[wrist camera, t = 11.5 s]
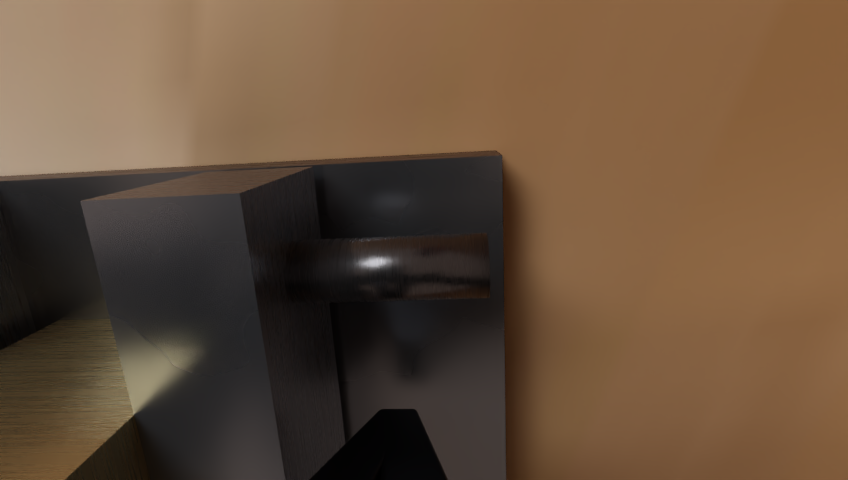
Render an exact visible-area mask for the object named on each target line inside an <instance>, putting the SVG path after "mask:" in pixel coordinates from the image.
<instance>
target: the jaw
mask: <svg viewBox="0 0 848 480" xmlns="http://www.w3.org/2000/svg"><path fill="white" fill-rule="evenodd" d="M80 202H81V206H82V210H83V214H84V218H85V222H86V226H87V230H88V234H89V238H90V242H91V246H92V250H93V254H94V258H95V262H96V266H97V270H98V274H99V278H100V282H101V286H102V290H103V294H104V298H105V302H106V306H107V310H108V314H109V318H110V322H111V326H112V330H113V334H114V338H115V342H116V346H117V350H118V354H119V358H120V362H121V366H122V370H123V374H124V378H125V382H126V386H127V390H128V394H129V398H130V402H131V406H132V409H133V413H134V417H135V421H136V425H137V429H138V433H139V437H140V441H141V445H142V449H143V453H144V457H145V461H146V465H147V469H148V473H149V477H150V480H309V479H310V478H311V477H312V476H313V475H314V474H315V473H316V472H317V471H318V470H319V469H320V468H321V467H322V466H323V465H324V464H325V463H326V462H327V461H328V460H329V459H330V458H331V457H332V456H333V455H334V454H335V453H336V452H337V451H338V450H339V449H340V448H341V447H342V446H344V445H345V444H346V443H345V435H344V426H343V418H342V409H341V401H340V392H339V384H338V375H337V367H336V358H335V349H334V341H333V332H332V324H331V315H330V307H329V303H338V302H372V301H405V300H439V299H472V298H489V297H490V259H489V245H488V237H487V233H466V234H441V235H416V236H391V237H366V238H340V239H322V238H321V230H320V221H319V213H318V204H317V196H316V187H315V179H314V170H313V167H293V168H274V169H254V170H235V171H215V172H204V173H200V174H196V175H191V176H187V177H182V178H178V179H174V180H169V181H165V182H161V183H156V184H152V185H147V186H143V187H139V188H134V189H130V190H125V191H121V192H117V193H112V194H108V195H104V196H99V197H95V198H90V199H86V200H82V201H80Z"/></svg>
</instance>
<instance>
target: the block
mask: <svg viewBox="0 0 848 480" xmlns="http://www.w3.org/2000/svg"><path fill="white" fill-rule="evenodd" d="M0 480H150V477H149V473H148V469H147V465H146V461H145V457H144V453H143V449H142V445H141V441H140V437H139V433H138V429H137V425H136V421H135V417H134V413H133V409H132V406H131V402H130V398H129V394H128V390H127V386H126V382H125V378H124V374H123V370H122V366H121V362H120V358H119V354H118V350H117V346H116V342H115V338H114V334H113V330H112V326H111V322H110V319H94V320H58V321H56V322H54V323H52V324H50V325H49V326H47V327H45V328H43V329H41V330H39V331H37V332H35V333H33V334H31V335H29V336H27V337H25V338H23V339H22V340H20V341H18V342H16V343H14V344H12V345H10V346H8V347H6V348H4V349H2V350H0Z"/></svg>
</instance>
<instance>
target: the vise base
mask: <svg viewBox="0 0 848 480" xmlns="http://www.w3.org/2000/svg"><path fill="white" fill-rule="evenodd" d="M293 167H313V170H314V179H315V187H316V196H317V204H318V213H319V221H320V230H321V238H322V239H340V238H366V237H391V236H416V235H441V234H466V233H487V237H488V245H489V259H490V297H489V298H472V299H439V300H405V301H372V302H338V303H329V307H330V315H331V324H332V332H333V341H334V349H335V358H336V367H337V375H338V384H339V392H340V401H341V409H342V418H343V426H344V435H345V443H347V442H348V441H349V440H350V439H351V438H352V437H353V436H354V435H355V434H356V433H357V432H358V431H359V430H360V429H361V428H362V427H363V426H364V425H365V424H366V423H367V422H368V421H369V420H370V419H371V418H372V417H373V416H374V415H375V414H376V413H377V412H378V411H379V410H381V409H415V410H417V412H418V414H419V416H420V418H421V421H422V423H423V425H424V427H425V430H426V432H427V434H428V436H429V438H430V441H431V443H432V445H433V447H434V450H435V452H436V454H437V456H438V458H439V461H440V463H441V465H442V467H443V470H444V472H445V474H446V476H447V478H448V480H506V425H505V343H504V260H503V178H502V155H501V154H500V153H499V152H497V151H478V152H459V153H439V154H420V155H401V156H382V157H363V158H344V159H325V160H306V161H286V162H267V163H248V164H229V165H210V166H191V167H172V168H153V169H133V170H114V171H95V172H76V173H57V174H38V175H19V176H0V350H2V349H4V348H6V347H8V346H10V345H12V344H14V343H16V342H18V341H20V340H22V339H23V338H25V337H27V336H29V335H31V334H33V333H35V332H37V331H39V330H41V329H43V328H45V327H47V326H49V325H50V324H52V323H54V322H56V321H58V320H94V319H110V318H109V314H108V310H107V306H106V302H105V298H104V294H103V290H102V286H101V282H100V278H99V274H98V270H97V266H96V262H95V258H94V254H93V250H92V246H91V242H90V238H89V234H88V230H87V226H86V222H85V218H84V214H83V210H82V206H81V202H80V201H82V200H86V199H90V198H95V197H99V196H104V195H108V194H112V193H117V192H121V191H125V190H130V189H134V188H139V187H143V186H147V185H152V184H156V183H161V182H165V181H169V180H174V179H178V178H182V177H187V176H191V175H196V174H200V173H204V172H215V171H235V170H254V169H274V168H293Z"/></svg>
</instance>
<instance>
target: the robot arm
mask: <svg viewBox="0 0 848 480" xmlns="http://www.w3.org/2000/svg"><path fill="white" fill-rule="evenodd" d="M309 480H448V478H447V476H446V474H445V472H444V470H443V467H442V465H441V463H440V461H439V458H438V456H437V454H436V452H435V450H434V447H433V445H432V443H431V441H430V438H429V436H428V434H427V432H426V430H425V427H424V425H423V423H422V421H421V418H420V416H419V414H418V412H417V410H415V409H381V410H379V411H378V412H377V413H376V414H375V415H374V416H373V417H372V418H371V419H370V420H369V421H368V422H367V423H366V424H365V425H364V426H363V427H362V428H361V429H360V430H359V431H358V432H357V433H356V434H355V435H354V436H353V437H352V438H351V439H350V440H349V441H348V442H347V443H346V444H345V445H344V446H342V447H341V448H340V449H339V450H338V451H337V452H336V453H335V454H334V455H333V456H332V457H331V458H330V459H329V460H328V461H327V462H326V463H325V464H324V465H323V466H322V467H321V468H320V469H319V470H318V471H317V472H316V473H315V474H314V475H313V476H312V477H311V478H310V479H309Z"/></svg>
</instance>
